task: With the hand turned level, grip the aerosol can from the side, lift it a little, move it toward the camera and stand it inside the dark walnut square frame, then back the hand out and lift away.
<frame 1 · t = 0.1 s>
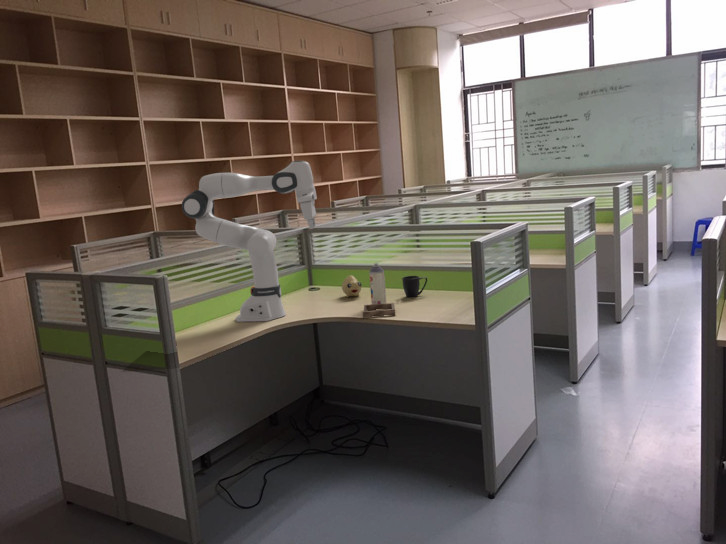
hand: (312, 227, 273), 39 cm above the table, tool pointing down, fingers open, 8 cm apart
mug: (415, 296, 298), on the table
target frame: (379, 312, 270), on the table
egg character toy: (352, 297, 309), on the table
aerosol can: (379, 306, 283), on the table
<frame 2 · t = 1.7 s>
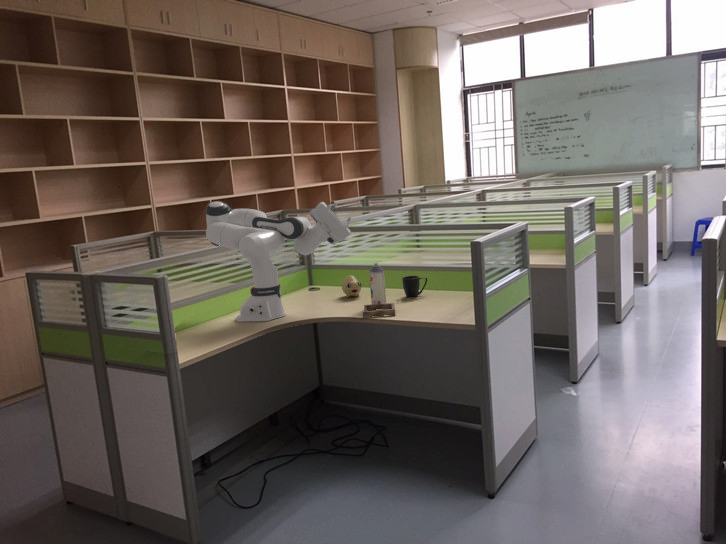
hand: (343, 210, 282), 45 cm above the table, tool pointing upward, fingers open, 8 cm apart
nothing on the table moved.
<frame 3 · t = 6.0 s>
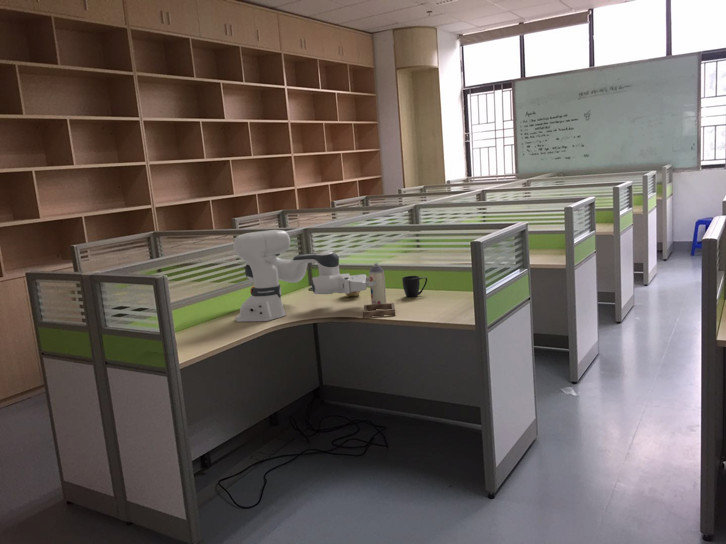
hand: (376, 280, 281), 12 cm above the table, tool horizontal, fingers open, 8 cm apart
aerosol can: (379, 306, 283), on the table, touching gripper
everything else where it was.
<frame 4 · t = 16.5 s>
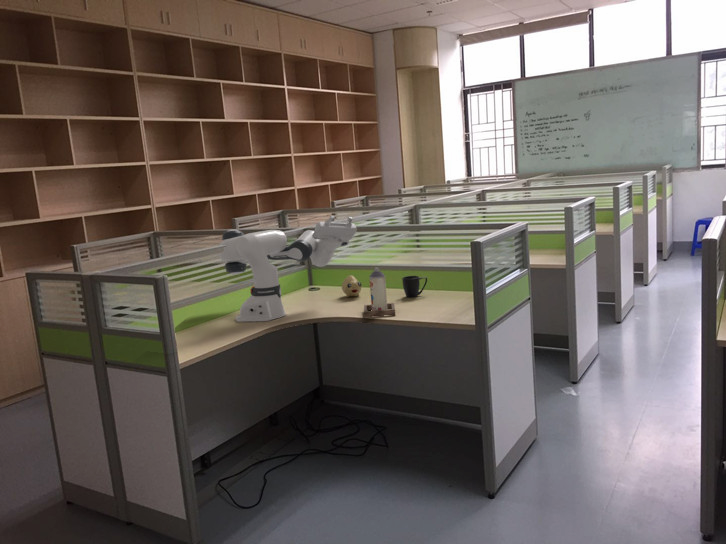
hand: (341, 217, 277), 42 cm above the table, tool pointing upward, fingers open, 8 cm apart
aerosol can: (379, 313, 270), resting in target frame
everything else where it was.
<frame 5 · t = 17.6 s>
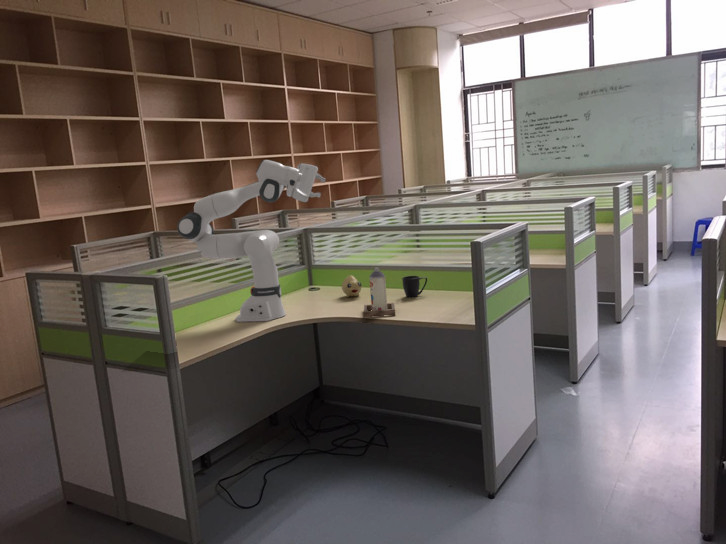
hand: (322, 188, 275), 56 cm above the table, tool tilted 65°, fingers open, 8 cm apart
nothing on the table moved.
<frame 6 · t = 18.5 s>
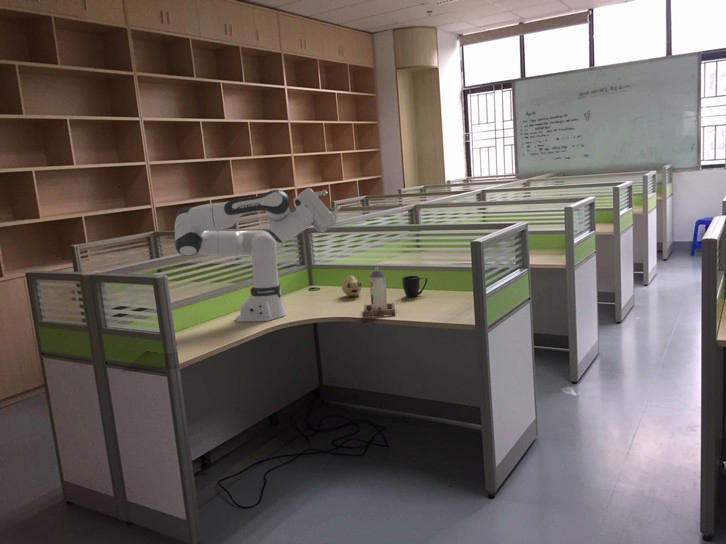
hand: (332, 199, 260), 51 cm above the table, tool pointing upward, fingers open, 8 cm apart
nothing on the table moved.
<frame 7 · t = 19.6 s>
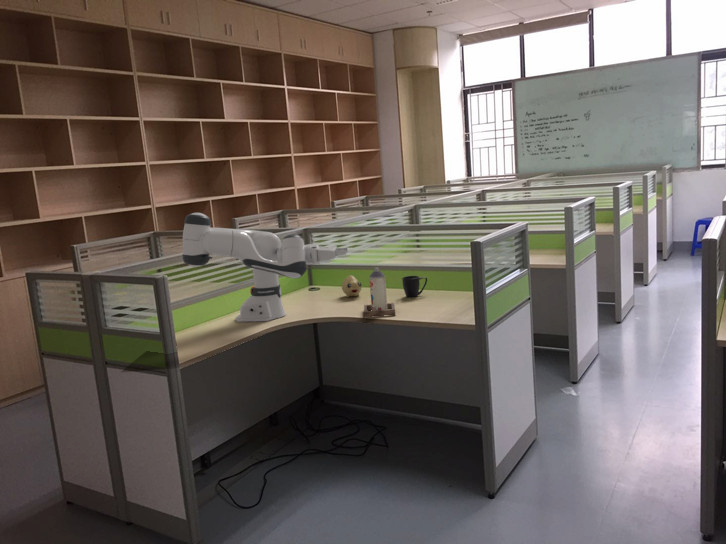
hand: (346, 250, 265), 29 cm above the table, tool horizontal, fingers open, 8 cm apart
nothing on the table moved.
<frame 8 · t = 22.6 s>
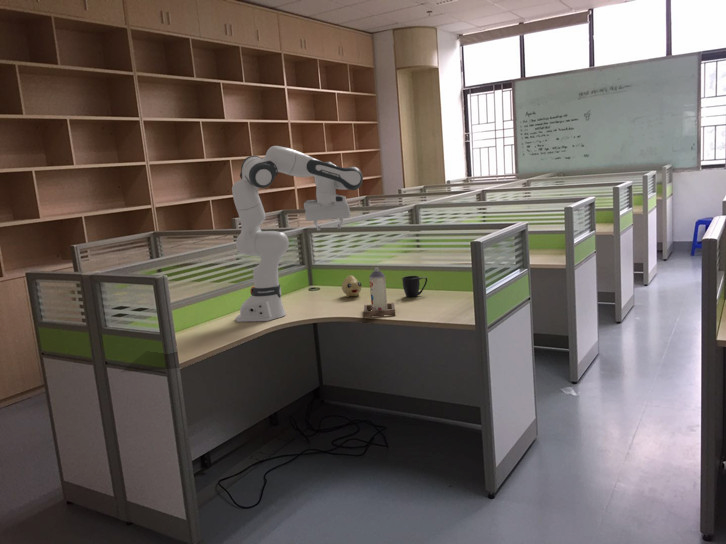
hand: (329, 229, 278), 37 cm above the table, tool pointing down, fingers open, 8 cm apart
nothing on the table moved.
at the end: aerosol can 0.1 cm off-centre on the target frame, point 0.0 cm above the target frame's base; aerosol can tilted 0°; the gripper is holding nothing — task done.
